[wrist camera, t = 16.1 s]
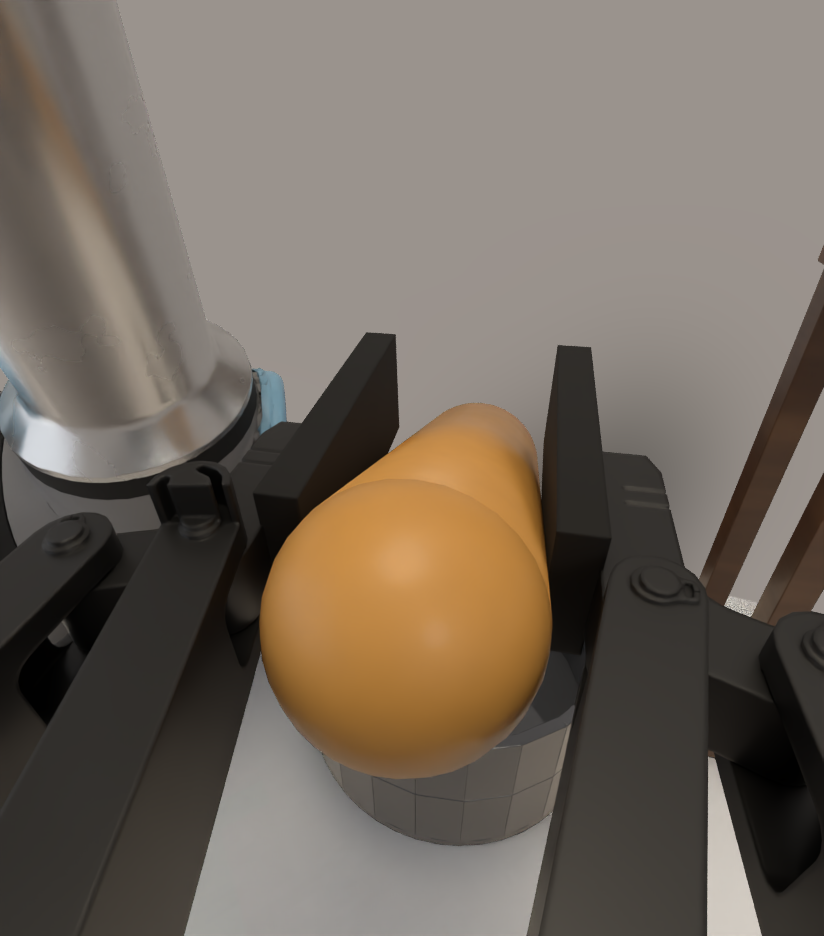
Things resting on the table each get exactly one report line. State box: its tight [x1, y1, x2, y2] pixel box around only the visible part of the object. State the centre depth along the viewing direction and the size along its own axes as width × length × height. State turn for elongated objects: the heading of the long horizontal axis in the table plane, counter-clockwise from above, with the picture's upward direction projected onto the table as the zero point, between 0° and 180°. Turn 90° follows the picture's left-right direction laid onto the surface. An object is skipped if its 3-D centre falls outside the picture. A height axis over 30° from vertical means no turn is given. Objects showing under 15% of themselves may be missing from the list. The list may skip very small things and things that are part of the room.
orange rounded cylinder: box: [259, 403, 552, 779], centre depth 13 cm, size 15×4×4 cm, turn 168°
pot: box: [322, 641, 586, 846], centre depth 36 cm, size 19×19×10 cm
